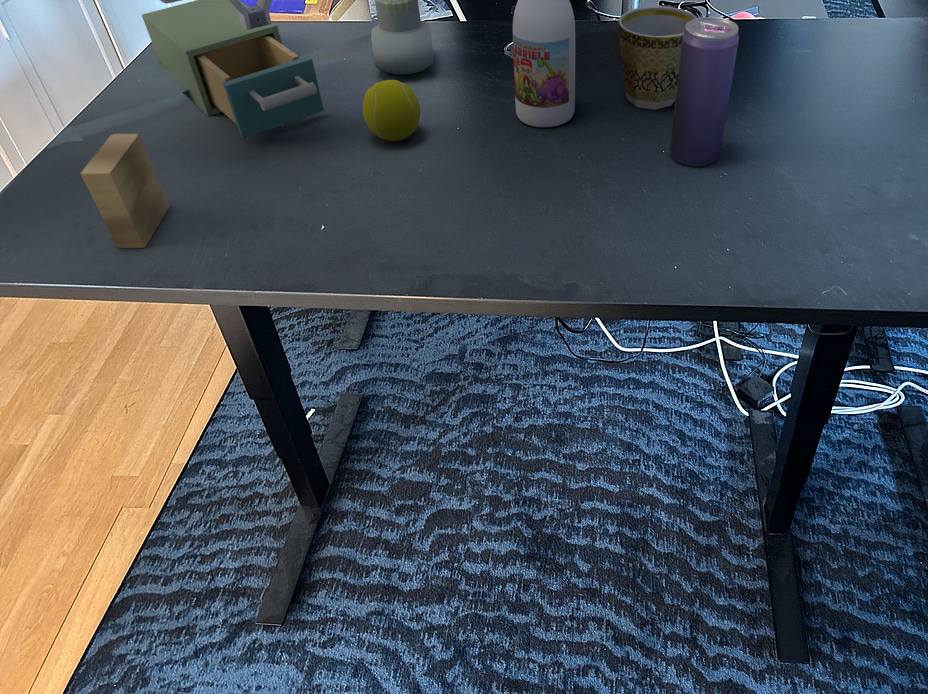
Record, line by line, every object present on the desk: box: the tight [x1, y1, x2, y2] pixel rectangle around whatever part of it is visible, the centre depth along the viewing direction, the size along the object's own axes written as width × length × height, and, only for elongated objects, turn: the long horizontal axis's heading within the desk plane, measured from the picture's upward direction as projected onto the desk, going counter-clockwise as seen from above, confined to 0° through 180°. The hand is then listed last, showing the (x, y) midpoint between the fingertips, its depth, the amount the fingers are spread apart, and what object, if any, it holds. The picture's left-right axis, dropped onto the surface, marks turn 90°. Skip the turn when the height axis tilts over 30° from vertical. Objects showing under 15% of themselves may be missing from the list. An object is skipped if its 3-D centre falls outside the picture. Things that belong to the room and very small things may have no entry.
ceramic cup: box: [617, 5, 698, 111], centre depth 101 cm, size 13×10×10 cm
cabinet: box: [141, 0, 283, 117], centre depth 108 cm, size 17×13×9 cm
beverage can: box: [669, 16, 740, 167], centre depth 88 cm, size 6×6×15 cm
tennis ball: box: [362, 79, 421, 142], centre depth 96 cm, size 7×7×7 cm
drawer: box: [194, 34, 325, 139], centre depth 100 cm, size 20×11×7 cm, turn 38°
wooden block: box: [80, 133, 170, 249], centre depth 82 cm, size 8×3×9 cm, turn 179°
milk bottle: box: [512, 0, 576, 128], centre depth 94 cm, size 8×8×20 cm
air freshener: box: [370, 0, 435, 76], centre depth 109 cm, size 11×8×10 cm
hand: (256, 25), depth 87 cm, fingers closed
